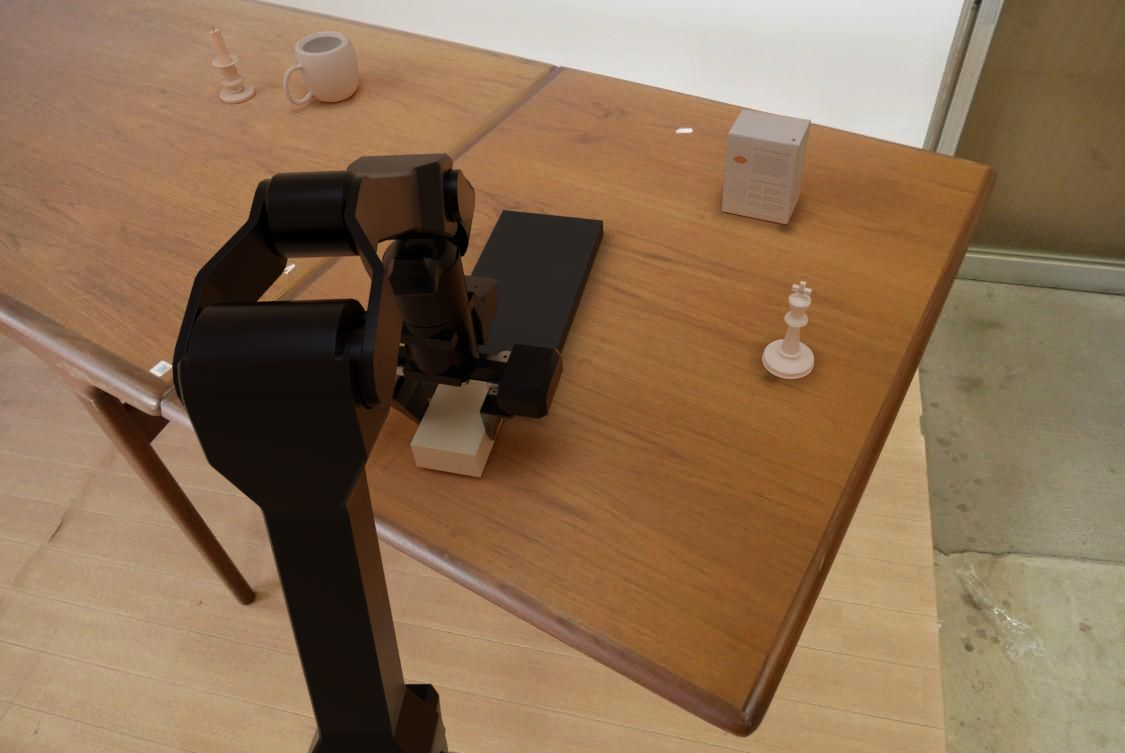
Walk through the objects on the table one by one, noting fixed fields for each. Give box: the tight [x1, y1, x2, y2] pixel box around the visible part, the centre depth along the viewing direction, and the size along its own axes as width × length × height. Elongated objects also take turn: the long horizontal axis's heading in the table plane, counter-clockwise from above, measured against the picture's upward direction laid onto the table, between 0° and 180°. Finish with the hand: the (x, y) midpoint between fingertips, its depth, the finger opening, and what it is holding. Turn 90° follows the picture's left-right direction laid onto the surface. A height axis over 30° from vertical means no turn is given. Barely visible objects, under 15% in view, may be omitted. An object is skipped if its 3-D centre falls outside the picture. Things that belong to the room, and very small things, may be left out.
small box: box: [721, 108, 812, 225], centre depth 95 cm, size 8×6×10 cm
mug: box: [282, 30, 360, 106], centre depth 120 cm, size 12×8×8 cm
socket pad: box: [423, 209, 604, 399], centre depth 89 cm, size 28×12×2 cm, turn 166°
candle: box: [209, 26, 256, 105], centre depth 122 cm, size 5×5×10 cm
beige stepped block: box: [410, 380, 504, 478], centre depth 77 cm, size 12×6×3 cm, turn 166°
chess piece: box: [761, 280, 815, 380], centre depth 78 cm, size 5×5×10 cm
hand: (461, 431), depth 76 cm, fingers closed on beige stepped block, 6 cm apart
